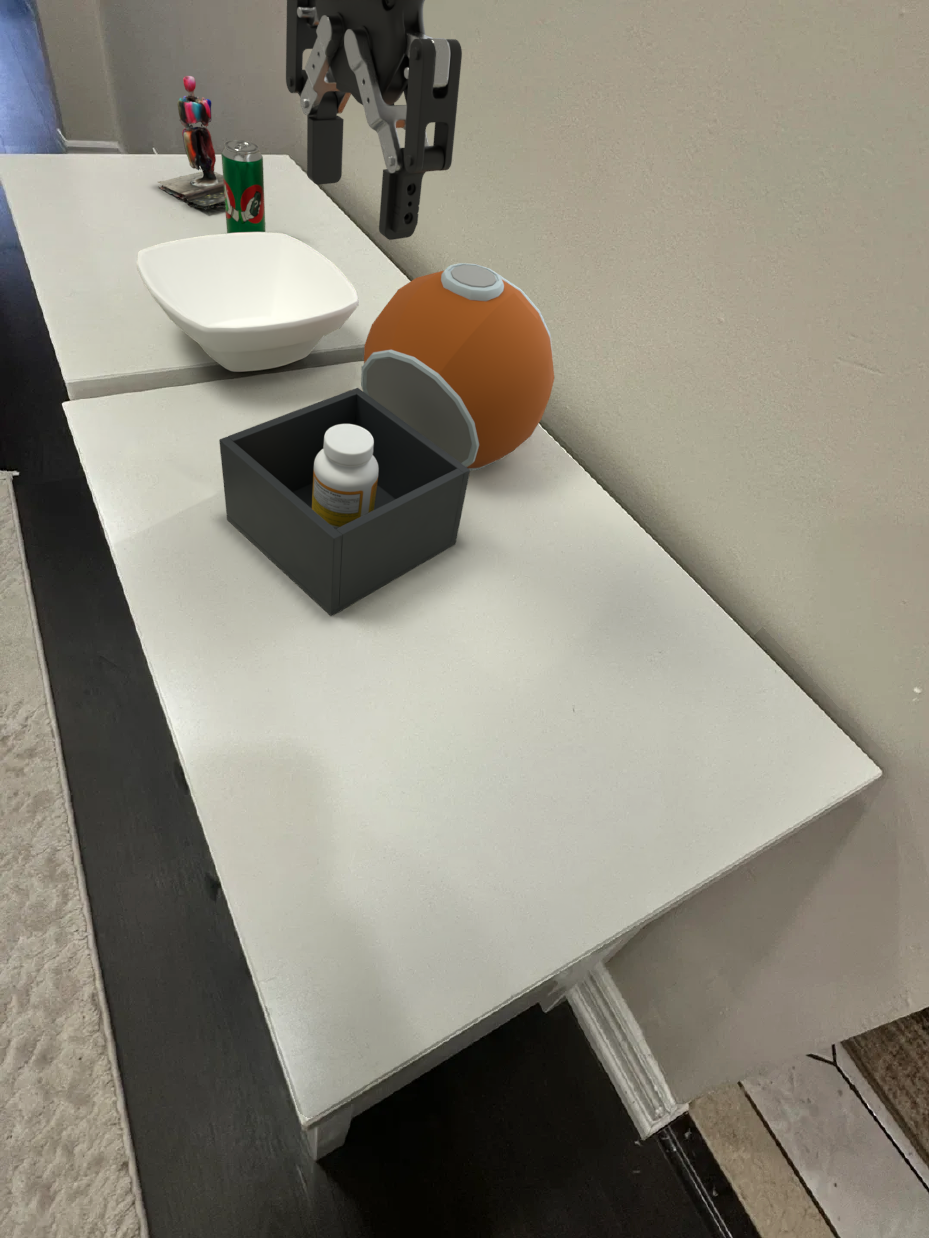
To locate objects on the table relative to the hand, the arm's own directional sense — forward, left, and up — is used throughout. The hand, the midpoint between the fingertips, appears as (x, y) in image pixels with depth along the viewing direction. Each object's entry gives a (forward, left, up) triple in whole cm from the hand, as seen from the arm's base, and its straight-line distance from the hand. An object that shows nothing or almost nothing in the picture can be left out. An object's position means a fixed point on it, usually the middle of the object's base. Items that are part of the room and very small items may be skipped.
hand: (359, 208), depth 49 cm
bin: (0, 0, -28) cm, 28 cm away
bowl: (+7, +31, -28) cm, 43 cm away
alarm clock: (+18, +8, -28) cm, 35 cm away
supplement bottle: (0, 0, -27) cm, 27 cm away
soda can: (+19, +56, -28) cm, 66 cm away
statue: (+21, +72, -28) cm, 80 cm away
